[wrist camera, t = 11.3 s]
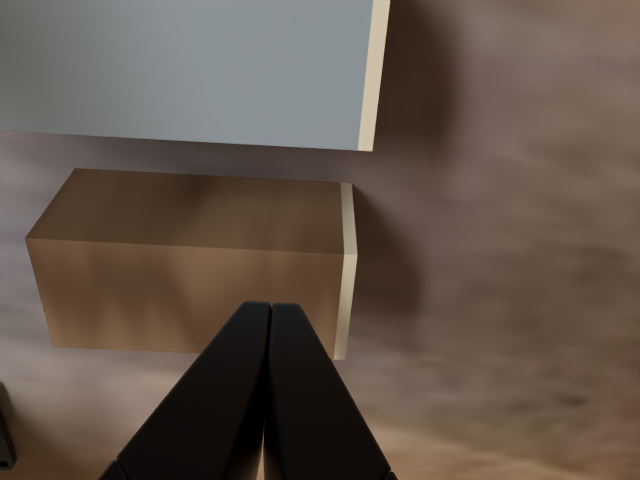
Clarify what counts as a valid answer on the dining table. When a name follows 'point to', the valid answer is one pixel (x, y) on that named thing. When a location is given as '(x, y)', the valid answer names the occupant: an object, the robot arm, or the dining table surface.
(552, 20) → the dining table surface
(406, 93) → the dining table surface
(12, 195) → the dining table surface
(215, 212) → the walnut block
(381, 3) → the gray block
